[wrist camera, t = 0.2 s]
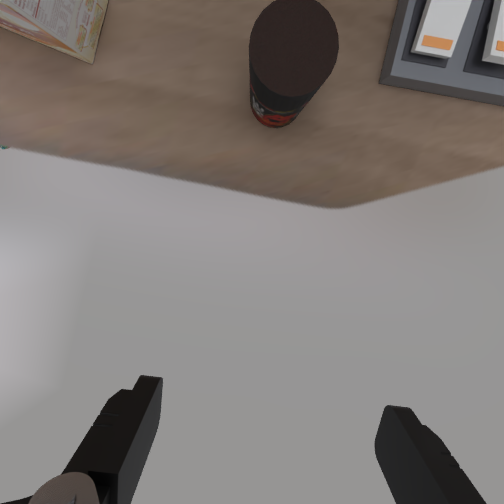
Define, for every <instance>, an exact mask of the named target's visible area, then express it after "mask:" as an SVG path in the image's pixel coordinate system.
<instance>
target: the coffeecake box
mask: <svg viewBox="0 0 504 504" xmlns="http://www.w3.org/2000/svg"><path fill="white" fill-rule="evenodd" d="M107 4H108V0H0V27H2V28H5V29H7V30H10V31H12V32H14V33H17V34H19V35H22V36H24V37H26V38H29V39H31V40H34V41H36V42H39V43H41V44H44V45H46V46H48V47H51V48H53V49H56V50H58V51H61V52H63V53H65V54H68V55H70V56H73V57H75V58H78V59H80V60H83V61H85V62H88V63H90V64H93V62H94V57H95V53H96V49H97V45H98V38H99V35H100V31H101V27H102V24H103V20H104V17H105V13H106V9H107Z"/></svg>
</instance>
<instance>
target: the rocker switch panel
mask: <svg viewBox="0 0 504 504" xmlns="http://www.w3.org/2000/svg"><path fill="white" fill-rule="evenodd" d="M426 2H427V0H399V1H398V5H397V9H396V14H395V18H394V22H393V26H392V30H391V34H390V39H389V43H388V47H387V51H386V55H385V59H384V64H383V68H382V72H381V76H380V80H379V83H380V84H385V85H391V86H396V87H402V88H407V89H413V90H418V91H424V92H429V93H434V94H440V95H445V96H451V97H456V98H462V99H467V100H473V101H478V102H484V103H489V104H495V105H500V106H504V65H503V64H497V63H492V62H487V61H482V58H483V53H484V48H485V43H486V39H487V34H488V30H487V25H488V23H489V22H490V19H491V14H492V10H493V5H494V0H472V1H471V4H470V7H469V10H468V12H467V15H466V18H465V21H464V23H463V26H462V29H461V32H460V34H459V37H458V40H457V42H456V45H455V48H454V51H453V53H452V56H451V57H450V58H447V59H444V58H438V57H433V56H428V55H422V54H417V53H412V52H411V49H412V46H413V43H414V40H415V37H416V33H417V30H418V27H419V24H420V21H421V18H422V15H423V11H424V8H425V5H426Z"/></svg>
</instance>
